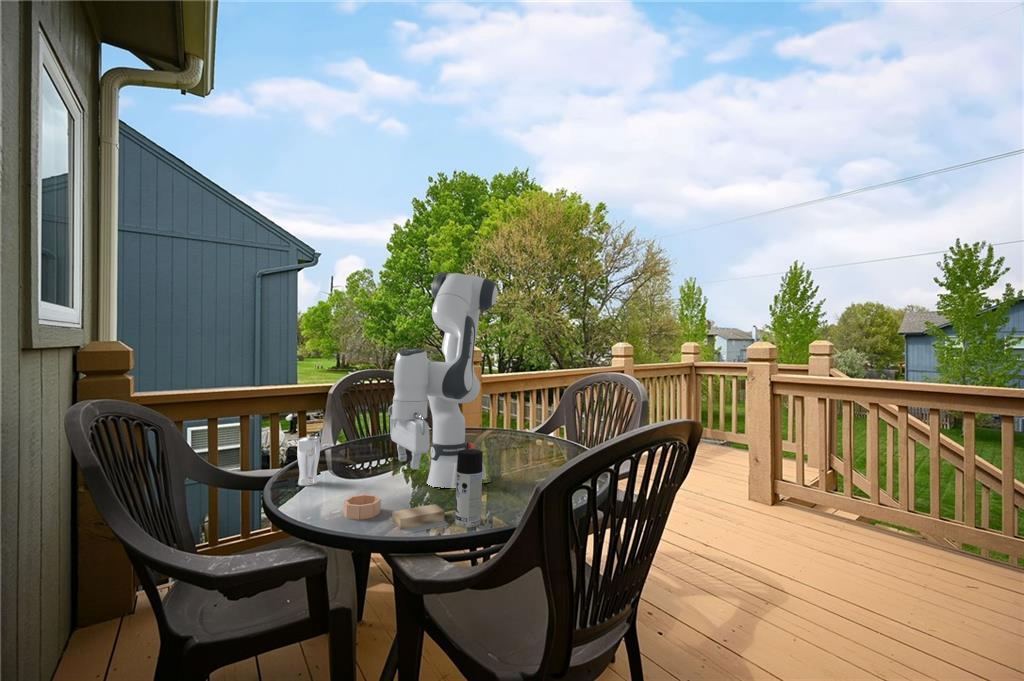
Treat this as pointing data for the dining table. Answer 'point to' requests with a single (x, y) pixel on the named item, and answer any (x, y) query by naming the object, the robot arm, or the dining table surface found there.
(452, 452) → the robot arm
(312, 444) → the beer glass
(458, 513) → the spray can
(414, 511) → the board
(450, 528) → the dining table surface
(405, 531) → the mat
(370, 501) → the bowl
